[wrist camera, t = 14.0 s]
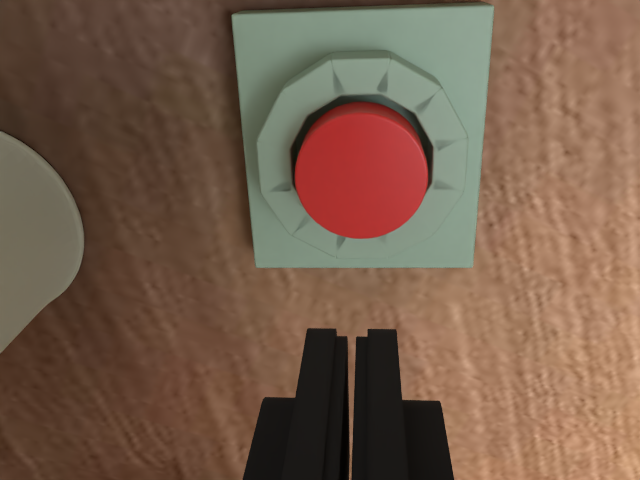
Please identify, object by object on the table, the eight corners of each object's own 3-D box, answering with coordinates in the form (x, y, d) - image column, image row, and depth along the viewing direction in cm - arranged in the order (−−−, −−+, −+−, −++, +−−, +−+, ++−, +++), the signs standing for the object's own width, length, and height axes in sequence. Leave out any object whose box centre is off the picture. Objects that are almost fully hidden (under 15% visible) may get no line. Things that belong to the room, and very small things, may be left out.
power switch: (466, 250, 25) (481, 291, 22) (261, 250, 26) (246, 290, 23) (485, 1, 21) (506, 8, 18) (240, 10, 22) (218, 18, 19)
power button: (421, 219, 22) (425, 239, 20) (302, 220, 22) (297, 240, 20) (426, 99, 20) (431, 111, 18) (296, 102, 20) (290, 114, 19)
